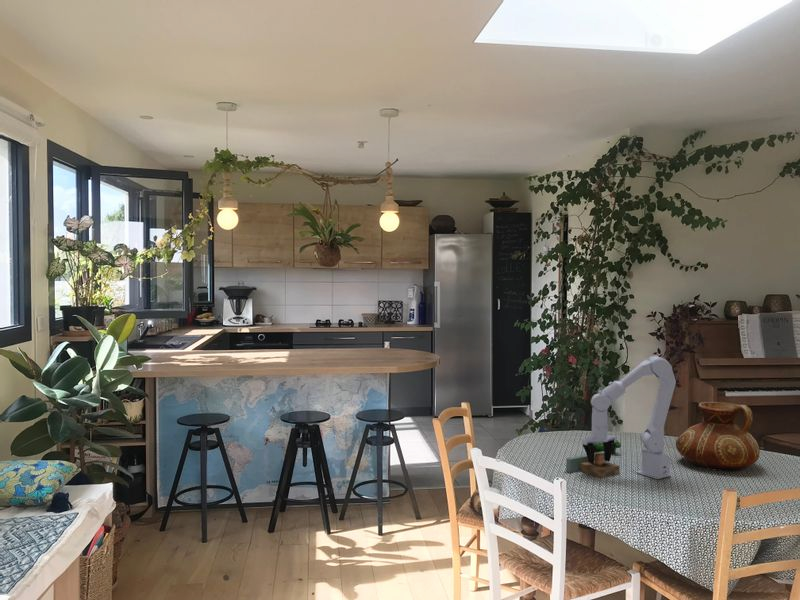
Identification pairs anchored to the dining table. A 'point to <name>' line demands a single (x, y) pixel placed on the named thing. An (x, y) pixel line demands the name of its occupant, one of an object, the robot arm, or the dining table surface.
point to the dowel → (599, 459)
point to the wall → (577, 462)
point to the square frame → (599, 469)
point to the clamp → (601, 448)
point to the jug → (720, 439)
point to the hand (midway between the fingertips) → (599, 461)
